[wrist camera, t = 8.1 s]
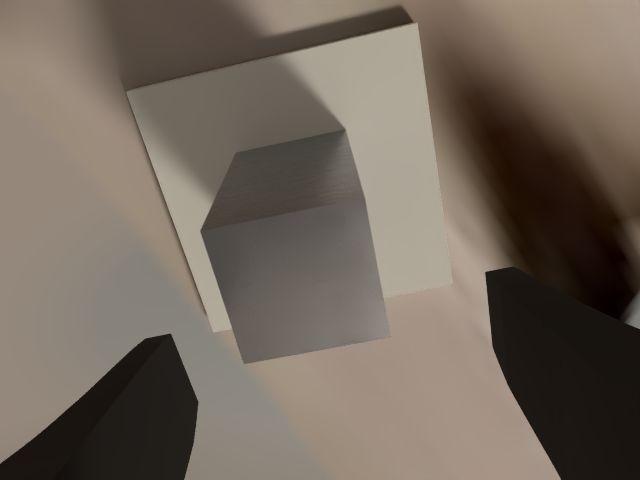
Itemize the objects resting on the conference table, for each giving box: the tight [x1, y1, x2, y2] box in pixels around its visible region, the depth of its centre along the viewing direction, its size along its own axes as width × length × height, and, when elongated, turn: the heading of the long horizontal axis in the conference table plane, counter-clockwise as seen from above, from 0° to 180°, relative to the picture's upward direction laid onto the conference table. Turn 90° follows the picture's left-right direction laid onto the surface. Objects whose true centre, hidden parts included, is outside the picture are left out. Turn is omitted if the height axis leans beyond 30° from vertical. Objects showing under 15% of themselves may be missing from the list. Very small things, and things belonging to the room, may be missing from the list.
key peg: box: [200, 129, 391, 364], centre depth 17 cm, size 4×4×7 cm
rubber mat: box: [126, 22, 453, 332], centre depth 20 cm, size 10×10×1 cm
